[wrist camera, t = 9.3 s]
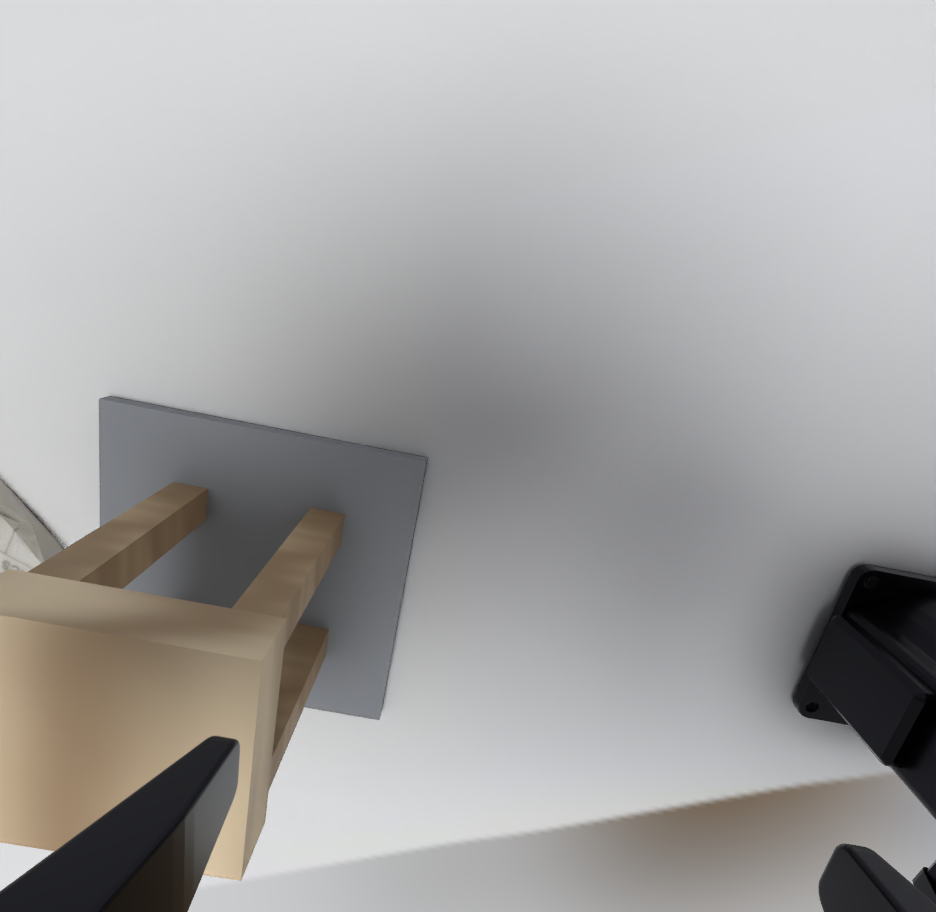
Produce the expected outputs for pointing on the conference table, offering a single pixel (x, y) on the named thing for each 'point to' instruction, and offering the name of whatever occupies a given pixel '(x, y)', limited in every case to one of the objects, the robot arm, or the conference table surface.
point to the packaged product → (22, 535)
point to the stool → (150, 674)
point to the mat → (274, 526)
